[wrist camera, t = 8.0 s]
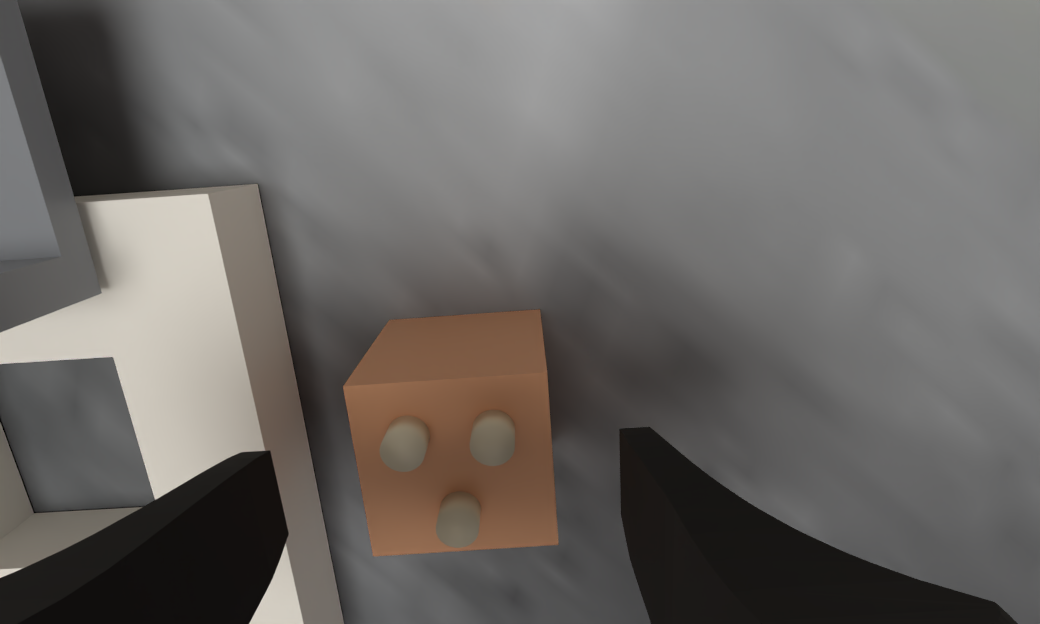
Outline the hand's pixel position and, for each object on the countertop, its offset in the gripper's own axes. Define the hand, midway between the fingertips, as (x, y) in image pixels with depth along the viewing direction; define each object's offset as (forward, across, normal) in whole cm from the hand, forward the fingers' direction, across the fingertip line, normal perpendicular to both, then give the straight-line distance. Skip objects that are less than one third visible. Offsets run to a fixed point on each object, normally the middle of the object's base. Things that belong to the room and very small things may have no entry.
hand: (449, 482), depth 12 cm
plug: (+5, 0, 0) cm, 5 cm away
